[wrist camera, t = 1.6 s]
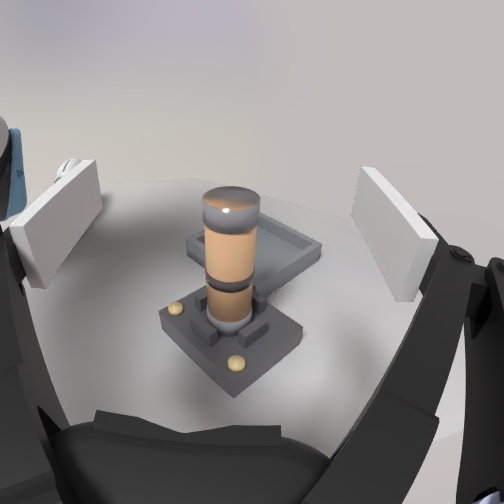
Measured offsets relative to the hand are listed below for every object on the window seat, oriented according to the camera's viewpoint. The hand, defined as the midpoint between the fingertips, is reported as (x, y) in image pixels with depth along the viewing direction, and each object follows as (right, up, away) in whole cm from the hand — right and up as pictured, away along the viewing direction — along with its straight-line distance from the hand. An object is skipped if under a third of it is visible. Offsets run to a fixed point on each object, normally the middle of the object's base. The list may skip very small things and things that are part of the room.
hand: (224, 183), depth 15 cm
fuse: (-1, -10, +18) cm, 21 cm away
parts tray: (+2, -4, +33) cm, 33 cm away
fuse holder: (-1, -13, +20) cm, 24 cm away
